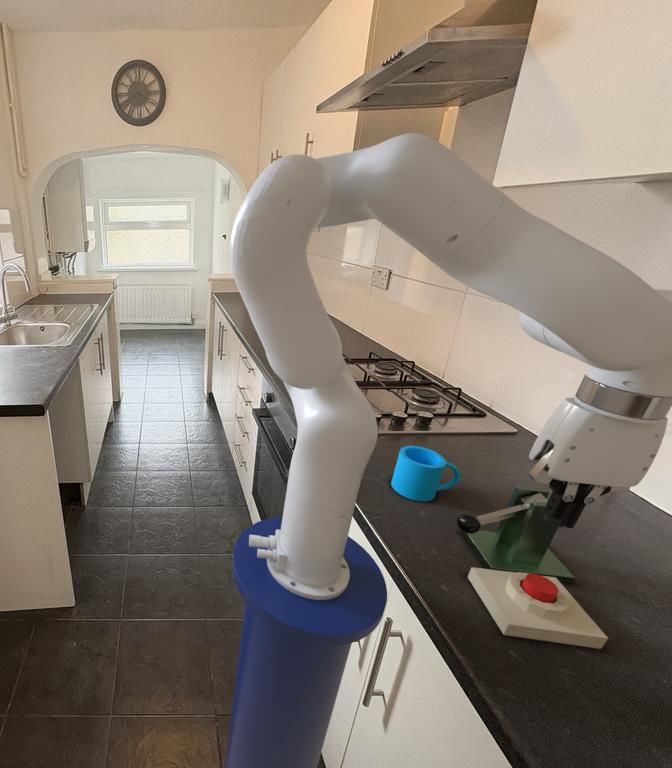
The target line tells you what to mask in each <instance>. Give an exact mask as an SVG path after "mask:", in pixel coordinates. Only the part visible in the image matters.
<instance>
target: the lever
mask: <svg viewBox="0 0 672 768" xmlns="http://www.w3.org/2000/svg"><path fill="white" fill-rule="evenodd" d="M521 500H522V503H523V504H521V505H518V506H514V507H510V508H507V507H506V508H507V509H506V508H503V509H499V510H495V511H493V512H488V513H484V514H482V515H481V514H480V515H477V516H475V515H474V514H470V513H463V514H460V515H459V516H458V517H457V520H456V525H457V528H458V529H460V530H461V532H462V533H463V532H465V533H469V534H474V533H476V532H478V531H479V530H481V526H484V525H488V524H492V523H495V522H499V521H500V522H501V520H504V519H507V518H511V517H515V516H519V515H523V514H526V513H527V511H528V509H529V506H530V504H531V502H532V501H534V502H544V503H547V502H548V500H549V499H548V498H547V499H546V498H545V497H544V496H543V495H542V494H541V493H539V494H535V495H531V496H528V497H524V498H521Z"/></svg>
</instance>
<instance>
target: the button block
mask: <svg viewBox="0 0 672 768" xmlns="http://www.w3.org/2000/svg"><path fill="white" fill-rule="evenodd" d="M528 574H529V573H521V572H517V573H515V572H506V571H498V570H490V569H487V568H481V567H472V566H471V567H470V570H469V572H468V575H467V579H468V581H469V582H470V583H471V585H472V587H473V588H474V590H475V592H476V593H477V595H478V596H479V598H480V599H481V601H482V603H483V604H484V606H485V608H486V609H487V611H488V612H489V614H490V616H491V617H492V619H493V620H494V622H495V624H496V626H497V627H498V628H499V630H500V632H501V633H502V634H503V636H509V637H515V638H523V639H530V640H536V641H543V642H545V641H546V642H551V643H558V644H565V645H571V646H578V647H586V648H592V649H599V650H600V649H602V648H604V646H605V644H606V642H607V641H608V639H609V637H608V636H607V635H606V634H605V632H603V630H602V629H601V628H600V627H599V625H598V624H597V623H596V622H595V621H594V620H593V618H591V616H590V615H589V614H588V613H587V612H586V610H584V608H583V607H582V606H581V605H580V604H579V602H578V601H577V600H576V598H574V597H573V596H572V594H571V592H569V590H567V588H566V587H565V586H564V585H563V584H562V582H560V581H558V579H557V578H555V577H547V576H543V577H545V578H547V579H549V580H550V581H552V582H553V583H554V584H555V585H556V586H557V588H558V594H557V596H556V597H555V599H554V601H553V602H552V603H543V602H541V601H539V600H536V599H534V598H532V597H531V596H530V595H528V594H527V593H526V592H525V591H524V590H523V588H522V583H523V581H524V579H525V577H526V575H528Z"/></svg>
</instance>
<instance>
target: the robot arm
mask: <svg viewBox="0 0 672 768" xmlns="http://www.w3.org/2000/svg"><path fill="white" fill-rule="evenodd" d="M369 220H376V221H378V222H379V223H381V224H382V225H384V227H386V228H387V229H388V230H390V231H392V233H393V234H394V235H396V236H397V237H399V238H400V239H402V240H403V241H404V242H406V243H408V244H409V245H410V246H411V247H412V248H414V249H416V251H418V252H419V253H420V254H421V255H423V256H424V257H425V258H426V259H428V261H430V262H432V263H433V264H434V265H435V266H437V267H438V268H439V269H440V270H442V271H443V272H444V273H445V274H447V275H448V276H449V277H451V278H453V279H454V280H456V281H458V282H459V283H461V284H463V285H465V286H466V287H469V288H471V289H473V290H474V291H475V292H479V293H481V294H484V295H486V296H488V297H490V298H493V299H495V300H497V301H500V302H502V303H504V304H505V305H508V306H510V307H511V308H513V309H515V310H516V311H519V315H518V321H519V325H520V326H521V328H522V330H523V331H524V332H525V333H526V334H527V335H528V336H529V337H530V338H532V339H533V340H534V341H536V342H538V343H541V344H543V345H544V346H546V347H549V348H551V349H553V350H555V351H557V352H561V353H563V354H565V355H567V356H570V357H572V358H574V359H576V360H578V361H580V362H582V363H584V364H587V365H588V367H587V369H586V371H585V374H584V376H583V378H582V380H581V382H580V384H579V386H578V388H577V391H576V392H575V395H574V397H565V399H563V401H562V402H561V403H560V404H559V405H558V406H557V407H556V409H555V410H554V411H553V412H552V414H551V415H550V417H549V418H548V419H547V421H546V423H545V424H544V426H543V427H542V429H541V430H540V431H539V432H540V433H539V434H538V436H537V437H536V439H535V441H534V443H533V445H532V447H531V449H530V452H529V455H528V459H529V461H530V462H532V463H535V465H534V466H533V467H532V468H531V470H530V471H529V472H528V476H529V477H530V478H531V479H533V480H534V481H535V482H536V483H539V484H543V485H546V486H548V487H549V489H550V490H551V491H552V492H551V494H550V496H549V498H548V499H547V500H548V502H547V504H546V506H545V508H544V513H545V514H546V515H547V516H548V517H549V518H550V519H551V520H552V521H553V522H554V523H555V524H556V525H557V526H558V528H559V527H560V528H564V527H565V528H567V529H573V528H574V527H575V526H576V524H577V522H578V521H579V518H580V517H581V515H582V513H583V511H584V510H585V508H586V505H588V506H589V505H593V504H594V503H595V502H597V500H598V499H599V497H602V496H604V495H607V494H609V493H626V492H628V491H629V490H630V489H631V488H633V487H636V486H638V485H639V484H640V483H641V481H642V480H643V479H644V478H645V476H646V475H647V473H648V472H649V470H650V468H651V466H652V465H653V463H654V461H655V459H656V457H657V455H658V453H659V450H660V447H661V446H662V443H663V440H664V438H665V434H666V430H667V427H668V421H669V418H668V417H667V416H668V414H669V413H670V410H671V408H672V290H671V289H655V288H653V286H651V285H650V284H648V283H647V282H646V281H645V280H643V278H641V277H640V276H638V275H637V274H636V273H634V272H633V271H632V270H631V269H629V268H628V267H626V266H625V265H623V264H622V263H621V262H619V261H617V260H616V259H614V257H613V258H612V257H611V256H609V255H608V254H606V253H604V252H602V251H601V250H599V249H597V248H595V247H593V246H591V245H590V244H588V243H586V242H584V241H582V240H580V239H579V238H576V237H574V236H573V235H571V234H569V233H567V232H566V231H564V230H562V229H561V228H559V227H557V226H556V225H553V224H552V223H550V222H548V221H546V220H544V219H542V218H540V217H539V216H536V215H534V214H532V213H531V212H529V211H527V210H526V209H525V208H524V207H522V206H521V205H519V204H518V203H517V202H515V201H514V200H513V199H512V198H510V197H509V196H508V195H506V193H504V192H503V191H501V190H500V189H499V188H498V187H496V186H495V185H494V184H493V183H492V182H490V181H489V180H487V179H486V178H485V177H484V176H483V175H481V174H480V173H479V172H478V171H477V170H476V169H474V168H473V167H472V166H470V165H469V164H468V163H467V162H466V161H465V160H463V159H461V158H460V157H459V156H458V155H457V154H455V153H454V152H453V151H451V150H450V148H448V147H447V146H445V144H443V143H442V142H440V141H438V139H435V138H433V137H431V136H429V135H427V134H424V133H419V132H410V133H402V134H400V135H396V136H392V137H391V138H389V139H386V140H384V141H382V142H380V143H377V144H375V145H372V146H369V147H368V146H367V147H365V148H361V149H357V150H353V151H348V152H344V153H338V154H333V155H327V156H323V157H318V158H317V157H316V158H314V157H312V156H309V155H305V154H299V153H298V154H297V153H294V154H288V155H285V156H282V157H279V158H278V159H276V160H274V161H273V162H271V163H270V164H268V166H266V167H265V169H264V170H263V171H262V172H260V174H259V176H258V177H257V179H256V180H255V182H254V183H253V185H252V186H251V187H250V189H249V191H248V193H247V194H246V196H245V198H244V199H243V201H242V204H240V207H239V209H238V211H237V213H236V216H235V219H234V222H233V226H232V230H231V234H230V242H229V260H230V267H231V268H230V269H231V272H232V275H233V279H234V283H235V284H236V285H235V286H236V287H237V290H238V292H239V294H240V296H241V299H242V301H243V304H244V306H245V308H246V310H247V313H248V315H249V318H250V321H251V322H252V324H253V327H254V328H255V331H256V333H257V335H258V338H259V340H260V342H261V344H262V347H263V349H264V351H265V352H264V353H265V355H266V358H267V361H268V363H269V365H270V367H271V369H272V371H273V372H274V374H275V375H276V376H277V377H278V378H279V379H280V380H282V382H283V385H284V387H285V389H286V392H287V393H288V396H289V397H290V399H291V403H292V406H293V411H294V416H295V420H296V425H297V434H296V442H295V446H294V450H293V452H292V456H291V461H290V466H289V471H288V476H287V486H286V493H285V499H284V506H283V511H282V517H283V518H282V524H281V530H278V529H276V533H275V536H273V535H269V537H261V536H258V535H249V547H255V548H260V547H261V548H268V550H264V549H257V558H264V559H266V558H267V566H268V568H269V571H270V572H271V574H272V576H273V577H274V578H275V579H276V581H277V582H278V583H279V584H281V585H282V586H283V587H284V588H285V589H287V590H289V591H290V592H292V593H294V594H296V595H298V596H301V597H304V598H308V599H313V600H328V599H333V598H335V597H337V596H339V595H340V594H342V593H343V592H344V591H345V589H346V588H347V586H348V582H349V577H350V572H349V567H348V565H347V562H346V561H345V559H344V557H343V554H344V550H345V546H346V542H347V537H348V536H349V533H350V530H351V524H352V520H353V516H354V512H355V509H356V503H357V499H358V494H359V490H360V487H361V483H362V479H363V476H364V473H365V470H366V467H367V464H368V463H369V461H370V458H371V457H372V455H373V452H374V450H375V448H376V445H377V441H378V438H379V437H378V436H379V429H378V428H379V427H378V422H377V418H376V414H375V412H374V410H373V408H372V406H371V404H370V402H369V401H368V399H367V398H366V396H365V395H364V393H363V391H362V390H361V389H360V387H359V386H358V384H357V382H356V381H355V379H354V378H353V376H352V374H351V371H350V370H349V367H348V365H347V363H346V360H345V358H344V356H343V345H342V340H341V336H340V335H339V332H338V330H337V328H336V326H335V325H334V323H333V322H332V320H331V318H330V316H329V314H328V312H327V310H326V307H325V305H324V303H323V300H322V298H321V296H320V294H319V292H318V287H317V285H316V283H315V279H314V276H313V274H312V272H311V269H310V266H309V262H308V246H309V242H310V239H311V236H312V234H313V232H314V231H315V230H316V229H321V228H327V227H335V226H340V225H346V224H353V223H358V222H363V221H369Z"/></svg>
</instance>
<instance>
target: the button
mask: <svg viewBox="0 0 672 768" xmlns="http://www.w3.org/2000/svg"><path fill="white" fill-rule="evenodd" d="M522 588H523V590H524V591H525V592H526V593H527V594H528V595H530V596H531V597H532V598H534V599H536V600H539V601H541V602H543V603H552V602H553V601H554V599H555V597H556V596H557V594H558V588H557V586H556V585H555V584H554V583H553V582H552V581H550V580H549V579H547V578H545V577H543V576H541V575H537V574H528V575H526V577H525V579H524V581H523V583H522Z"/></svg>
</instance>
